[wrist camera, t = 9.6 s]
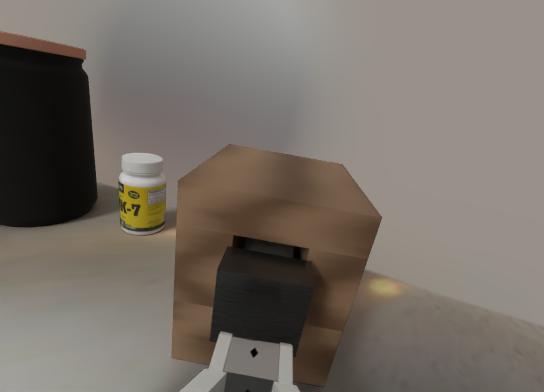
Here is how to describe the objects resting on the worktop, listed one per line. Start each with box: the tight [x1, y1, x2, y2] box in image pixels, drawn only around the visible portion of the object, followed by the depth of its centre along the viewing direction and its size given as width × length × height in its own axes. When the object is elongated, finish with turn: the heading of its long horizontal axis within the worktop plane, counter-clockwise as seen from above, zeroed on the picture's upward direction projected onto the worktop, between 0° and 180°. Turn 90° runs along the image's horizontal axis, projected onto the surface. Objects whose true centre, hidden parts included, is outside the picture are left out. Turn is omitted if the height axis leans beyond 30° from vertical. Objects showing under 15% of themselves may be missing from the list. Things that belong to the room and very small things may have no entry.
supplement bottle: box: [119, 153, 166, 235], centre depth 30 cm, size 5×5×8 cm
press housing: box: [172, 144, 382, 387], centre depth 20 cm, size 10×11×12 cm
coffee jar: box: [0, 31, 98, 227], centre depth 28 cm, size 11×11×18 cm
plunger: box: [210, 238, 314, 357], centre depth 18 cm, size 4×12×4 cm, turn 176°
